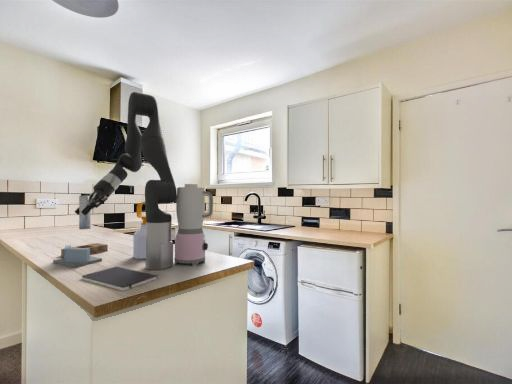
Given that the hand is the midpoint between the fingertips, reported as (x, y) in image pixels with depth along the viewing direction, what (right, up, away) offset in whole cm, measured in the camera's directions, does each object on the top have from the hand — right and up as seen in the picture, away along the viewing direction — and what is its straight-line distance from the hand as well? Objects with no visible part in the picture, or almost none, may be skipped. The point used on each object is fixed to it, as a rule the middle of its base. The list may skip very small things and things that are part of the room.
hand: (80, 213), depth 111 cm
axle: (+1, -7, +2) cm, 7 cm away
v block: (+1, -19, -4) cm, 20 cm away
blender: (+48, -20, -2) cm, 52 cm away
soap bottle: (+24, -20, +7) cm, 32 cm away
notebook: (+28, -20, -23) cm, 42 cm away
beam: (-5, -19, +11) cm, 23 cm away
